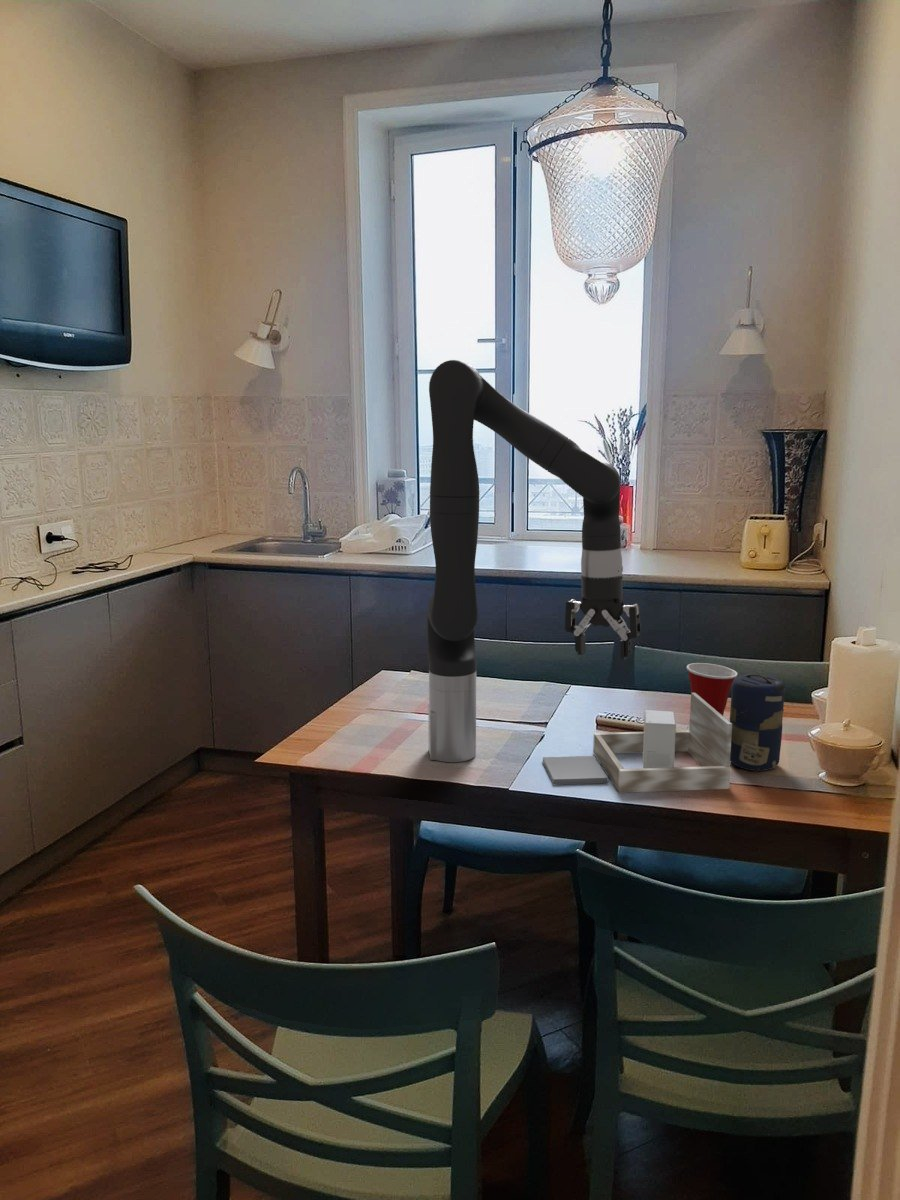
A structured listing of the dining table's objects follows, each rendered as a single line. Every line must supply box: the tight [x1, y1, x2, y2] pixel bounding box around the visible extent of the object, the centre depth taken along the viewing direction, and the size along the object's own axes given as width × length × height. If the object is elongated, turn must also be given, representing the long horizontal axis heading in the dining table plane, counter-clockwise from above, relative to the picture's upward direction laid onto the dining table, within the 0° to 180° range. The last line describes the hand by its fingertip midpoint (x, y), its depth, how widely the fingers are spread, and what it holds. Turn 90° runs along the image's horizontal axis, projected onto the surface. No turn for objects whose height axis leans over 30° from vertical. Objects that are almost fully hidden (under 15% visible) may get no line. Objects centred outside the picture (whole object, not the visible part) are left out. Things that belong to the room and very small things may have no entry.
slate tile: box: [542, 755, 609, 785], centre depth 168 cm, size 10×11×1 cm
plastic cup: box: [686, 662, 738, 717], centre depth 196 cm, size 11×11×12 cm
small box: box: [642, 709, 677, 768], centre depth 168 cm, size 8×6×10 cm
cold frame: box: [592, 692, 732, 793], centre depth 168 cm, size 20×20×12 cm
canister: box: [729, 673, 786, 771], centre depth 170 cm, size 10×10×18 cm
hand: (602, 656), depth 169 cm, fingers open, 8 cm apart
